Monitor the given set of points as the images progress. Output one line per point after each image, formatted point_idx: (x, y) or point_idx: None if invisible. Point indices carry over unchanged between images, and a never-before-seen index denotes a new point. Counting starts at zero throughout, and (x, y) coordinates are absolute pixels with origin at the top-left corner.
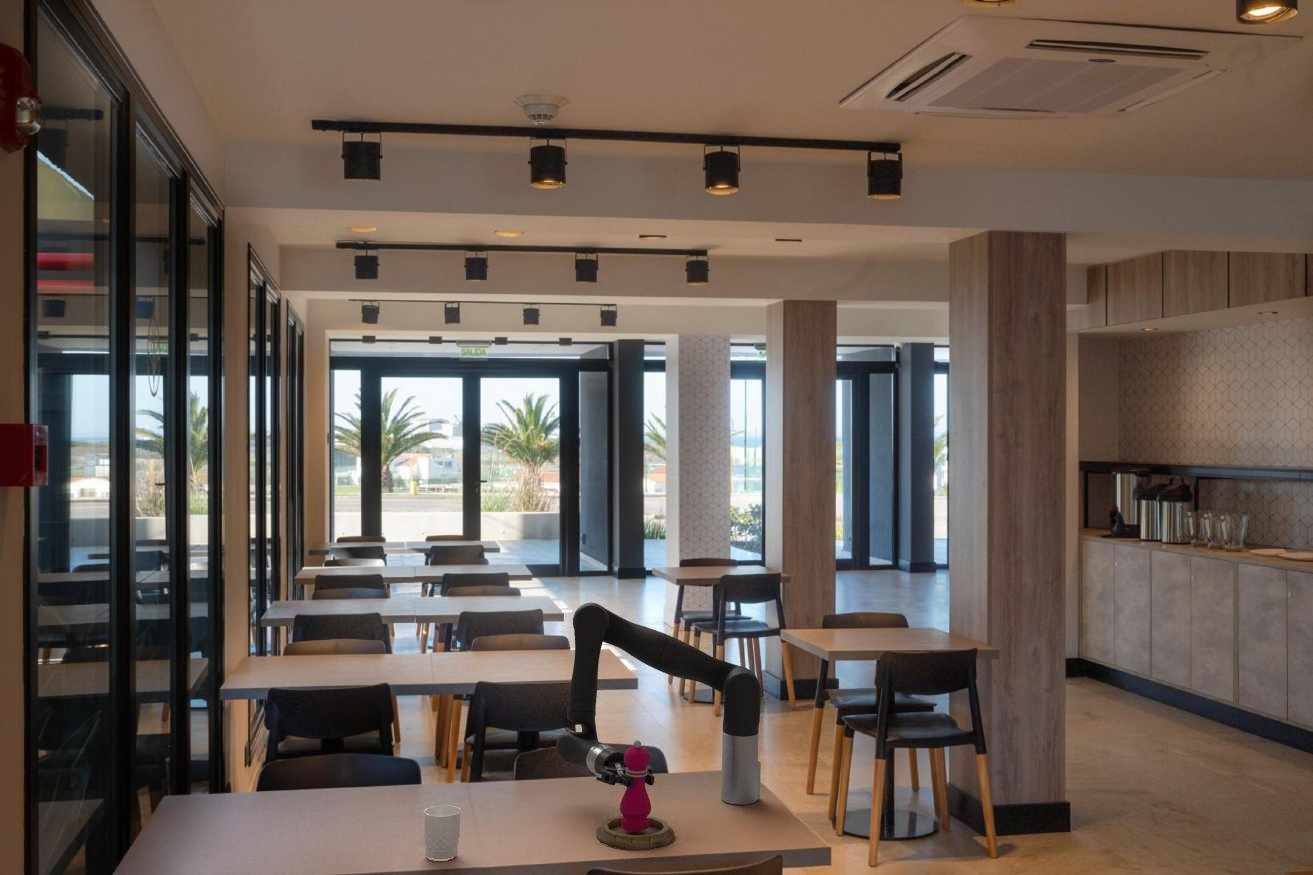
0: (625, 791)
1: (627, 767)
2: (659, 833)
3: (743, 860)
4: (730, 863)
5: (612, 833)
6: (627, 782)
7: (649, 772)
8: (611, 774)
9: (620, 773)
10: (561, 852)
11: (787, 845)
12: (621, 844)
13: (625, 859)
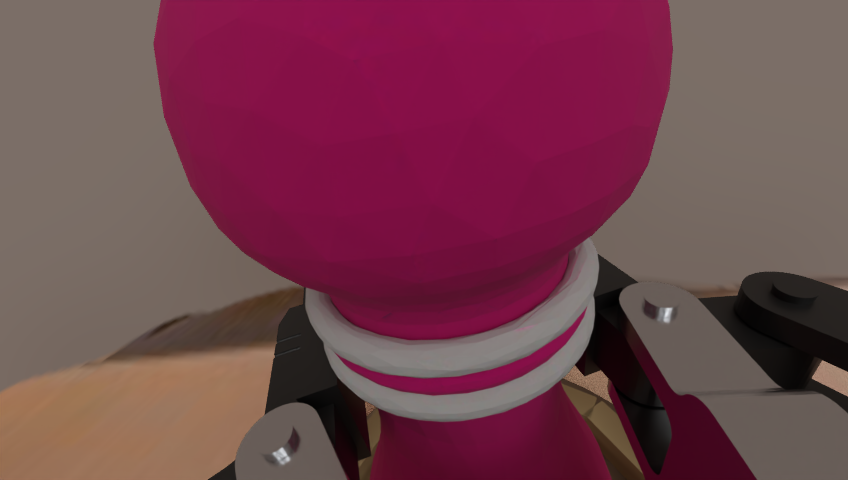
0: (577, 439)
1: (574, 266)
2: None
3: (254, 306)
4: (291, 293)
5: (617, 417)
6: None
7: (222, 477)
8: (799, 281)
9: (665, 291)
10: (822, 370)
11: (65, 387)
12: (562, 381)
13: None
